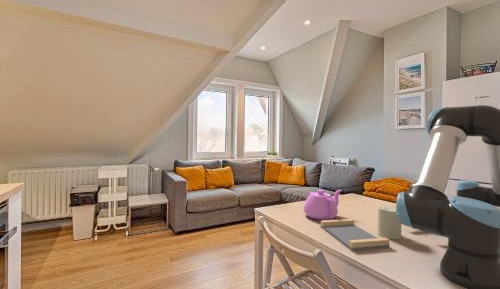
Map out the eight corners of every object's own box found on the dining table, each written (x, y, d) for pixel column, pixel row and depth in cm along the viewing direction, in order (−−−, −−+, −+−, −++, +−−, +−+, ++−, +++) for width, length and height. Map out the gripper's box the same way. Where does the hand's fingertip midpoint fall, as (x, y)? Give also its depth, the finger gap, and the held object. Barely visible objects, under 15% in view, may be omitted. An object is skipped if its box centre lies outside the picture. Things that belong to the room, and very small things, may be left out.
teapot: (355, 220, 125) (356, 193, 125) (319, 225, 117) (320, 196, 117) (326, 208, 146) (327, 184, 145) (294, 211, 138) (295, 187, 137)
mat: (389, 247, 95) (389, 239, 94) (351, 250, 91) (351, 242, 91) (351, 225, 118) (351, 218, 118) (320, 227, 115) (320, 220, 115)
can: (372, 232, 110) (373, 205, 109) (387, 230, 113) (388, 203, 112) (390, 240, 101) (391, 211, 100) (406, 237, 104) (407, 209, 104)
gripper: (478, 234, 101) (435, 238, 97) (424, 215, 125) (387, 217, 121) (479, 216, 100) (436, 219, 96) (424, 200, 125) (388, 202, 121)
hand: (409, 218), depth 109 cm, fingers open, 13 cm apart
